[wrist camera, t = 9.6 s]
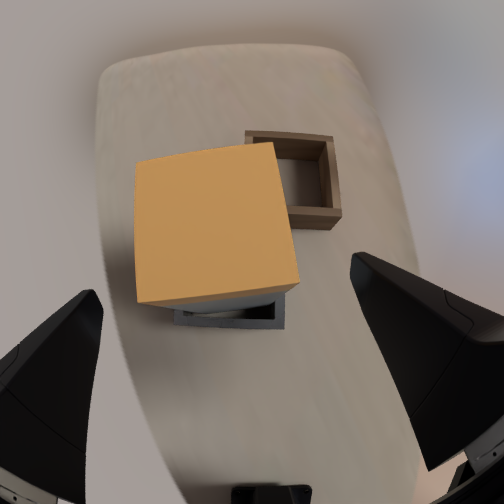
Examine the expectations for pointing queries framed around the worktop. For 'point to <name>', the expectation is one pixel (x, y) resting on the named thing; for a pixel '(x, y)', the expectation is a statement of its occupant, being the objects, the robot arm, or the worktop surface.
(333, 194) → the square frame
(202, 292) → the plug
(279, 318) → the socket
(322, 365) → the worktop surface
